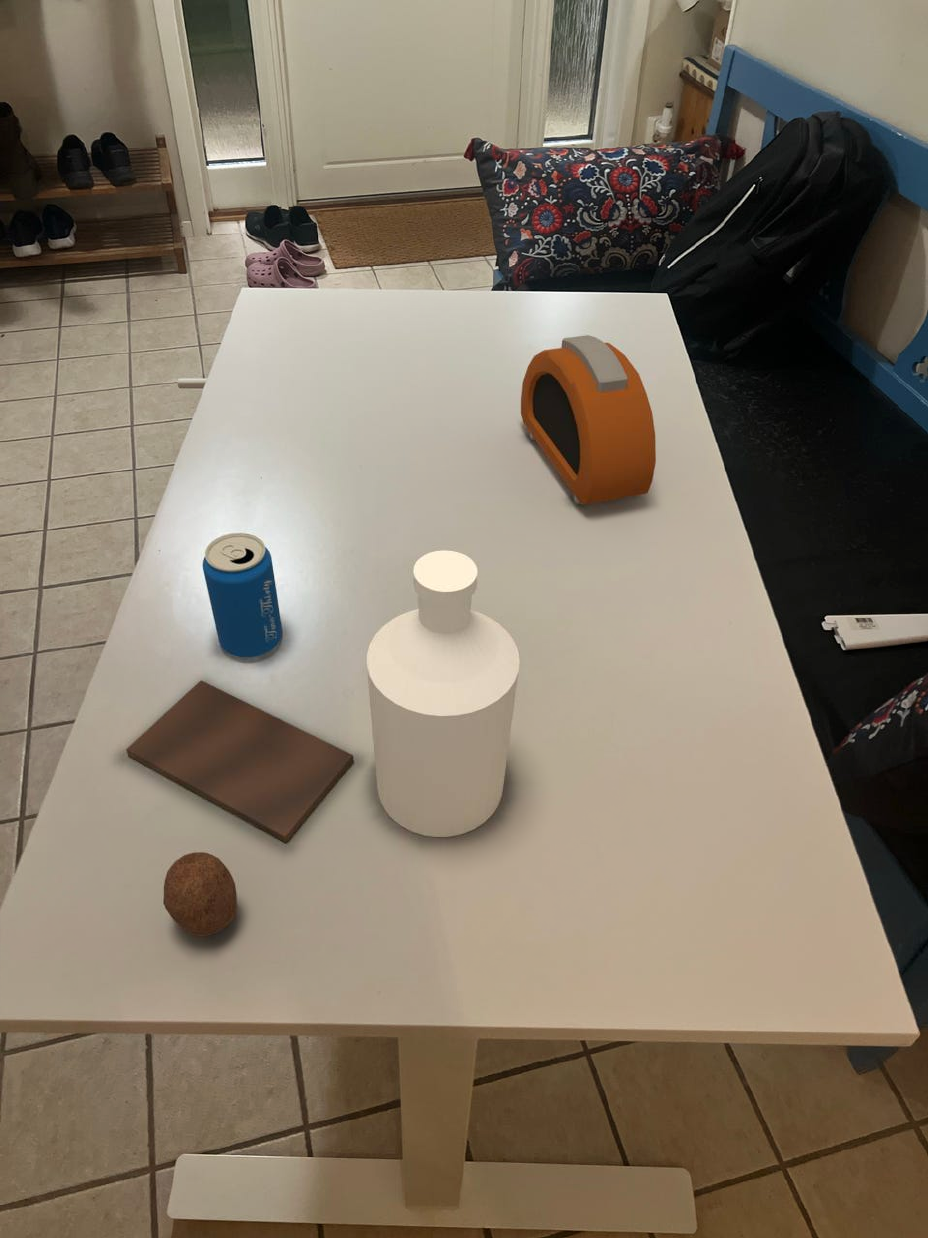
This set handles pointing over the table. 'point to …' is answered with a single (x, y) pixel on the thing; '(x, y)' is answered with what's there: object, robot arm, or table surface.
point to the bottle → (442, 703)
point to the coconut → (200, 893)
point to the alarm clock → (591, 419)
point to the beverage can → (243, 595)
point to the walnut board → (242, 759)
